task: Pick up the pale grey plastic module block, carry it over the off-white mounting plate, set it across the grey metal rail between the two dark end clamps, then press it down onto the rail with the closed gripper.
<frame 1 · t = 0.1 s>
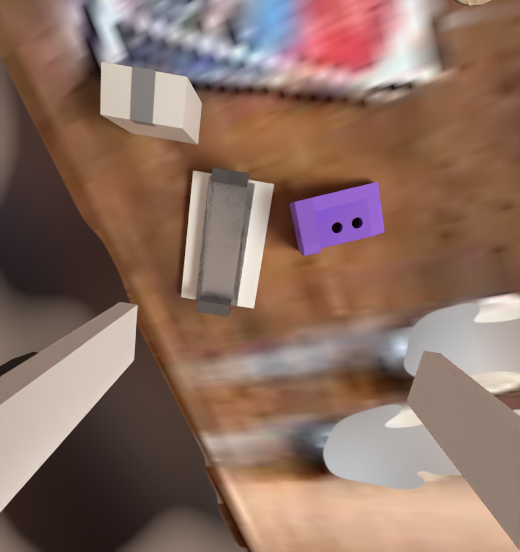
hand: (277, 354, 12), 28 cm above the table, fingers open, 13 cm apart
bracket: (334, 217, 38), on the table
mount plate: (226, 242, 39), on the table
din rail: (226, 242, 39), resting on mount plate
module: (166, 118, 35), on the table
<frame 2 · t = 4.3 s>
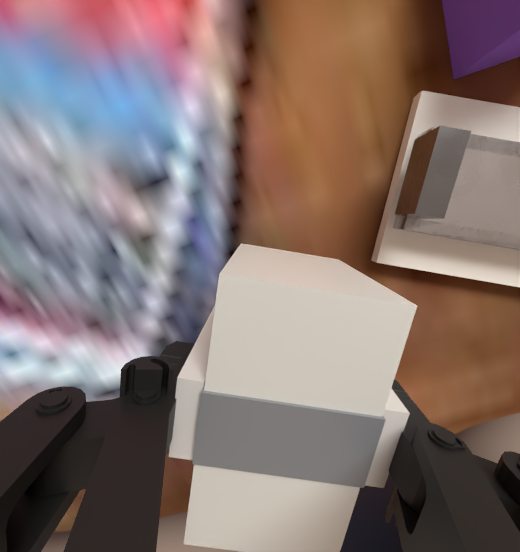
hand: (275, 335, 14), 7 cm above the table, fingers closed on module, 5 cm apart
mount plate: (517, 205, 19), on the table
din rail: (517, 205, 19), resting on mount plate
module: (274, 333, 14), point 6 cm above the table, touching gripper
when the fingers open (3 cm above the table, at t = 7.8 s): module stays where it is, resting on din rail.
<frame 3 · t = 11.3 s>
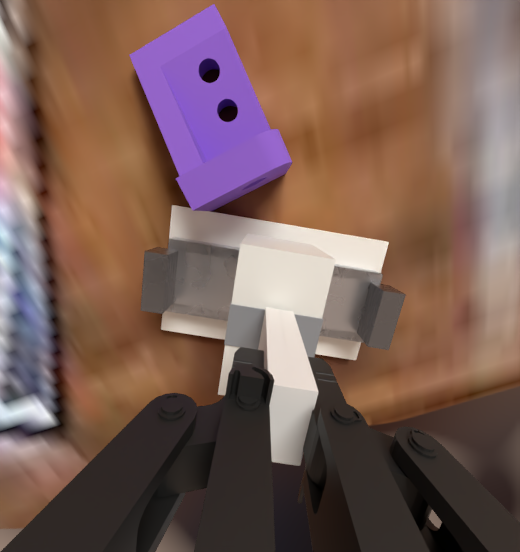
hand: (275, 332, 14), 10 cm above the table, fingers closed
bracket: (215, 123, 21), on the table
mount plate: (269, 284, 24), on the table
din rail: (269, 284, 24), resting on mount plate
module: (269, 294, 22), point 2 cm above the table, touching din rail, gripper
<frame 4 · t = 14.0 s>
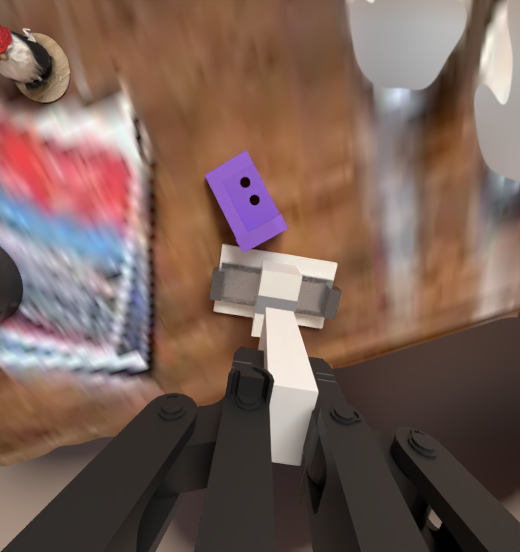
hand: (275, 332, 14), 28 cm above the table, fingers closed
bracket: (246, 201, 41), on the table
figurine: (41, 70, 37), on the table
mount plate: (273, 286, 43), on the table
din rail: (273, 286, 43), resting on mount plate
module: (273, 291, 41), point 2 cm above the table, touching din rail
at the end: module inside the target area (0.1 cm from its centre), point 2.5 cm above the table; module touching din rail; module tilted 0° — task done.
